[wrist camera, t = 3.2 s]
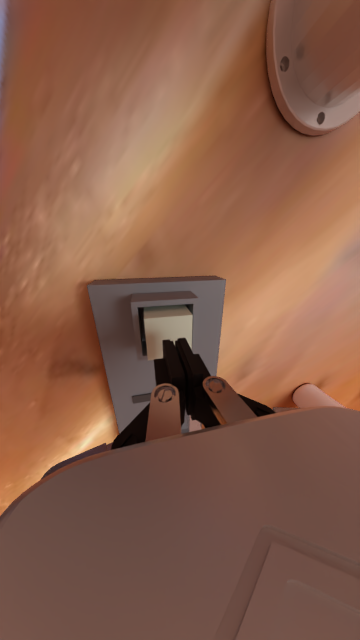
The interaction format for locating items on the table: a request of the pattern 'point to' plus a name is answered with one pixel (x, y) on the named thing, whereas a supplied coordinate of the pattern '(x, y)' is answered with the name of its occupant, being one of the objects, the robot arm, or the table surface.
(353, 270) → the table surface
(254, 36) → the table surface
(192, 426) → the block
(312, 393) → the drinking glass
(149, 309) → the button sage
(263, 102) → the table surface
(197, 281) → the panel
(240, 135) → the table surface
